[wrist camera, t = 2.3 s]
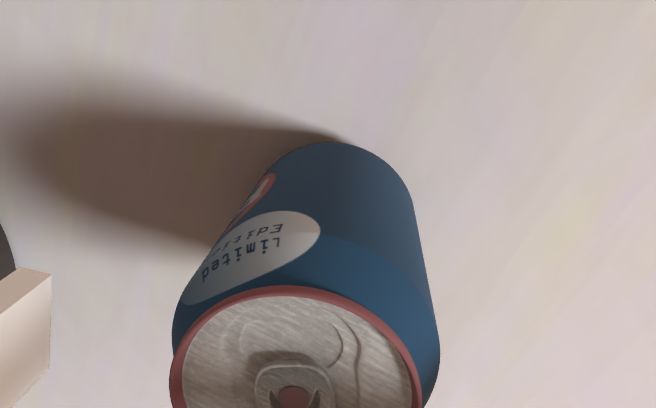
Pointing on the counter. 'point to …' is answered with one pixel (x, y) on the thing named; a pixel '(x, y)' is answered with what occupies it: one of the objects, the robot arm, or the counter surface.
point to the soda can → (311, 294)
